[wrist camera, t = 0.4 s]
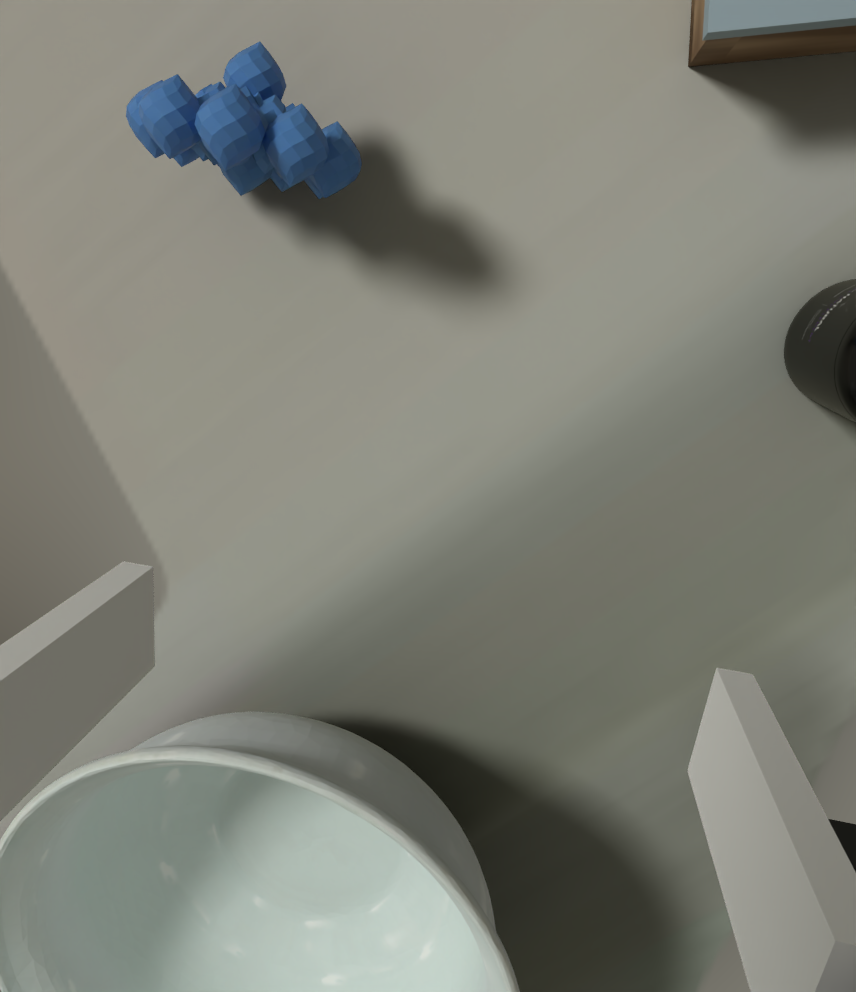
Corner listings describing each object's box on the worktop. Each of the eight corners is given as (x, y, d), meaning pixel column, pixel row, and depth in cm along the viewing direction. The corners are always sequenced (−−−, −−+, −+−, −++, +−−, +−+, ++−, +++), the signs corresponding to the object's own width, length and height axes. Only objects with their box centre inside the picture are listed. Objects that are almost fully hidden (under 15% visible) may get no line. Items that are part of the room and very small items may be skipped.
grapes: (405, 98, 38) (345, 20, 26) (381, 230, 40) (316, 209, 28) (202, 55, 39) (60, -39, 27) (189, 185, 41) (53, 149, 29)
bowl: (87, 885, 59) (-53, 1070, 45) (164, 556, 48) (13, 665, 35) (444, 1036, 57) (412, 1274, 44) (605, 730, 47) (629, 918, 33)
